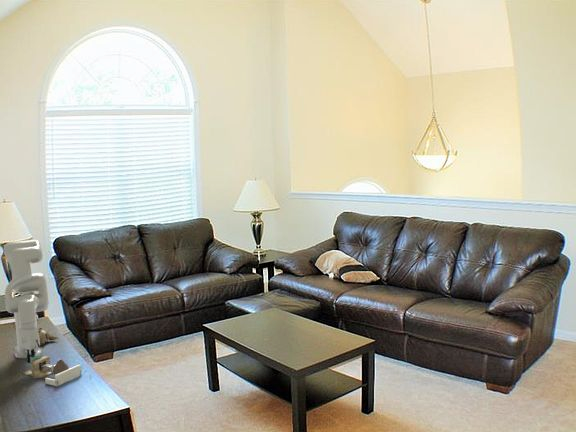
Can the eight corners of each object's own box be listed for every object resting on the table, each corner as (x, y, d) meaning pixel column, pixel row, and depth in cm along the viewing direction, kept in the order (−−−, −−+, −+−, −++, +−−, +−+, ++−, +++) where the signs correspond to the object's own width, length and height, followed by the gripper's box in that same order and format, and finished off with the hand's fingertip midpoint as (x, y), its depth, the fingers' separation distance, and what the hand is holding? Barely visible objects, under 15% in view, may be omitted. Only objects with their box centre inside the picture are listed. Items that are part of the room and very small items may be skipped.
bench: (22, 374, 272) (20, 359, 272) (36, 368, 279) (35, 354, 279) (40, 378, 266) (39, 363, 265) (55, 372, 273) (53, 357, 272)
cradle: (45, 383, 260) (44, 373, 260) (70, 372, 273) (69, 362, 272) (57, 386, 257) (56, 375, 256) (81, 375, 269) (80, 364, 269)
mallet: (31, 372, 271) (29, 356, 270) (40, 368, 276) (38, 353, 275) (51, 376, 265) (50, 360, 264) (60, 372, 269) (59, 357, 268)
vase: (64, 382, 261) (62, 363, 260) (50, 381, 263) (49, 363, 262) (72, 376, 268) (71, 358, 267) (59, 375, 270) (58, 357, 269)
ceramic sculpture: (39, 323, 327) (58, 327, 320) (40, 337, 328) (59, 342, 322) (23, 329, 317) (42, 333, 311) (24, 343, 319) (43, 348, 312)
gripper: (10, 325, 272) (14, 362, 274) (31, 329, 265) (35, 367, 267) (24, 321, 279) (28, 357, 281) (45, 324, 272) (48, 361, 274)
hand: (31, 362), depth 274 cm, fingers closed
